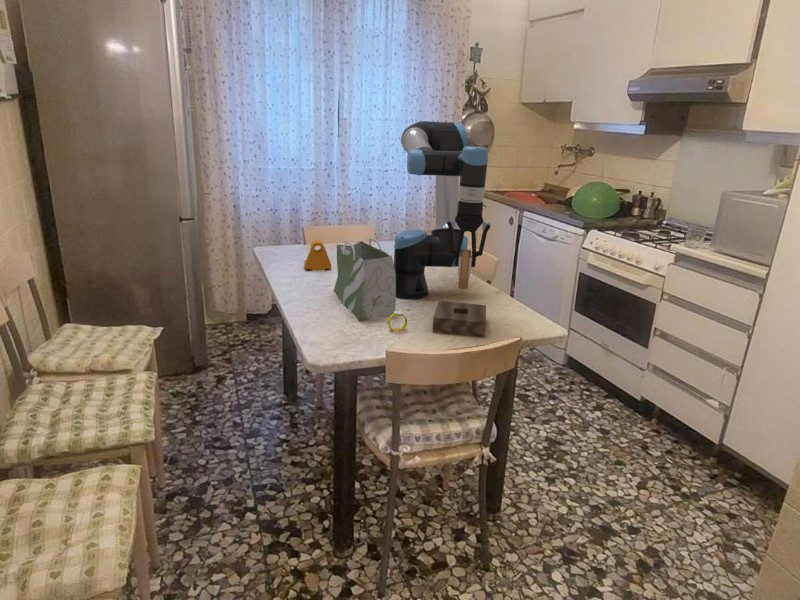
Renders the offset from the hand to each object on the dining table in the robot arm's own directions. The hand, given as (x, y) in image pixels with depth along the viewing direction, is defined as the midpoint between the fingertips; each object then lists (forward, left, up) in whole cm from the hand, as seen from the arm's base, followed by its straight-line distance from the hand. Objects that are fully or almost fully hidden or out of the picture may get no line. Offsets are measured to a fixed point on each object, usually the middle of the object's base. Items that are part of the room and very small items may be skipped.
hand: (464, 276), depth 165 cm
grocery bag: (-35, +11, -17) cm, 41 cm away
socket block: (0, 0, -17) cm, 17 cm away
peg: (0, 0, -4) cm, 4 cm away
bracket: (-63, +49, -17) cm, 82 cm away
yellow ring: (-19, -9, -17) cm, 27 cm away
